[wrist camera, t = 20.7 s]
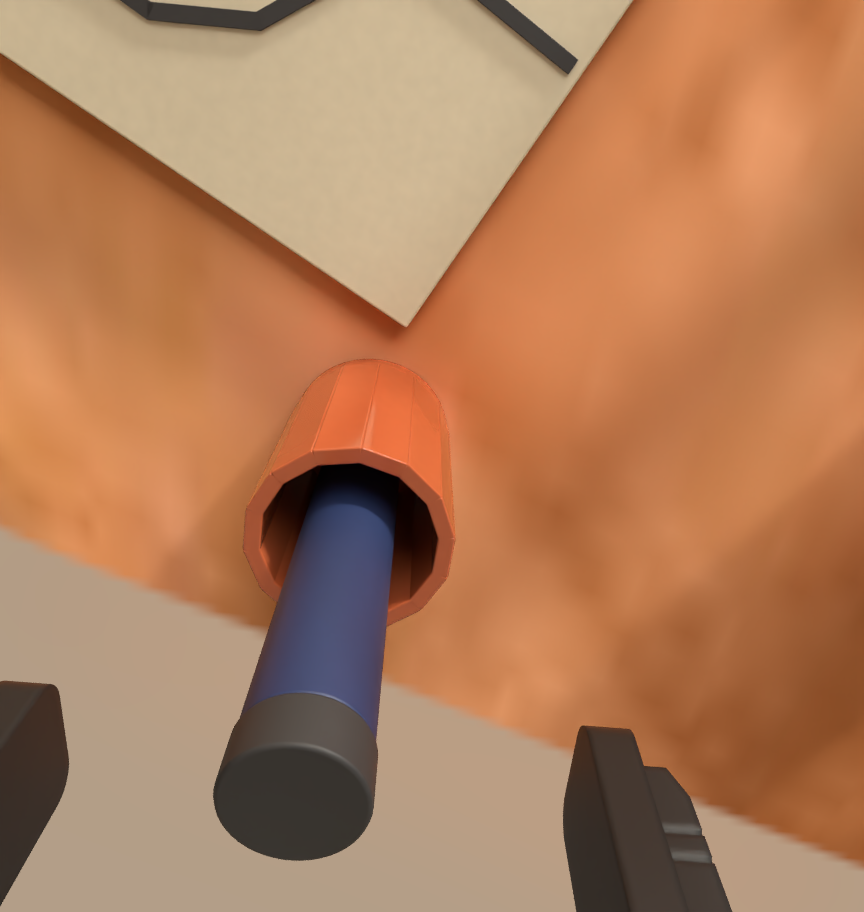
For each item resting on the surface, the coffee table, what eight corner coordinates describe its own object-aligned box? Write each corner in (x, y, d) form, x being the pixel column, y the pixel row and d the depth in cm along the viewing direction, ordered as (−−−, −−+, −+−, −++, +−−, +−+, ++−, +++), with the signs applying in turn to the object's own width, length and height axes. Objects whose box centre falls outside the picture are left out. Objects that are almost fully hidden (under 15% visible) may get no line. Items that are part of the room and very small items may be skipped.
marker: (418, 434, 23) (404, 791, 11) (377, 489, 24) (320, 884, 11) (355, 393, 23) (262, 719, 10) (315, 451, 23) (183, 821, 11)
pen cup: (478, 412, 24) (496, 520, 17) (391, 527, 25) (377, 663, 19) (347, 326, 22) (314, 405, 16) (265, 451, 24) (205, 568, 18)
